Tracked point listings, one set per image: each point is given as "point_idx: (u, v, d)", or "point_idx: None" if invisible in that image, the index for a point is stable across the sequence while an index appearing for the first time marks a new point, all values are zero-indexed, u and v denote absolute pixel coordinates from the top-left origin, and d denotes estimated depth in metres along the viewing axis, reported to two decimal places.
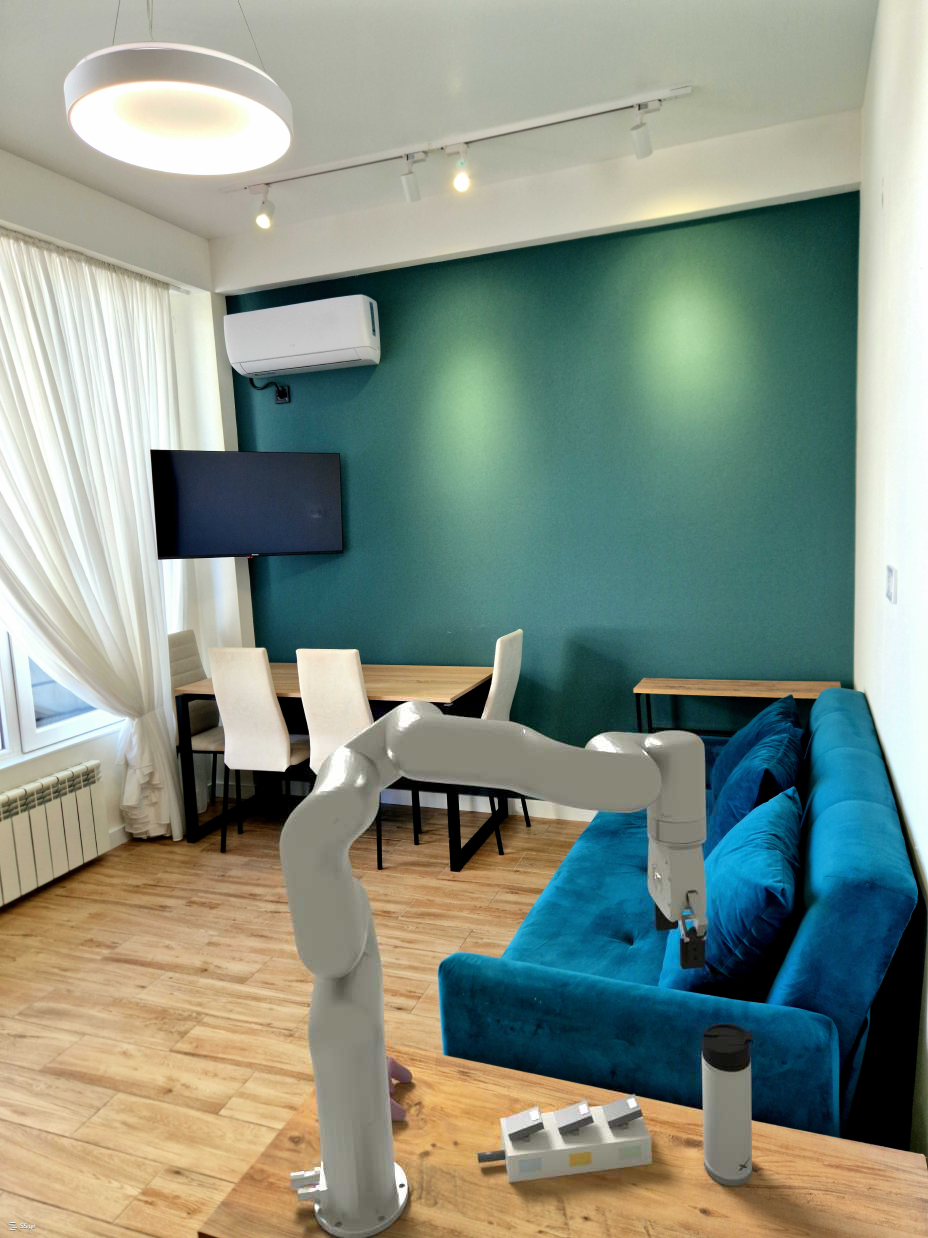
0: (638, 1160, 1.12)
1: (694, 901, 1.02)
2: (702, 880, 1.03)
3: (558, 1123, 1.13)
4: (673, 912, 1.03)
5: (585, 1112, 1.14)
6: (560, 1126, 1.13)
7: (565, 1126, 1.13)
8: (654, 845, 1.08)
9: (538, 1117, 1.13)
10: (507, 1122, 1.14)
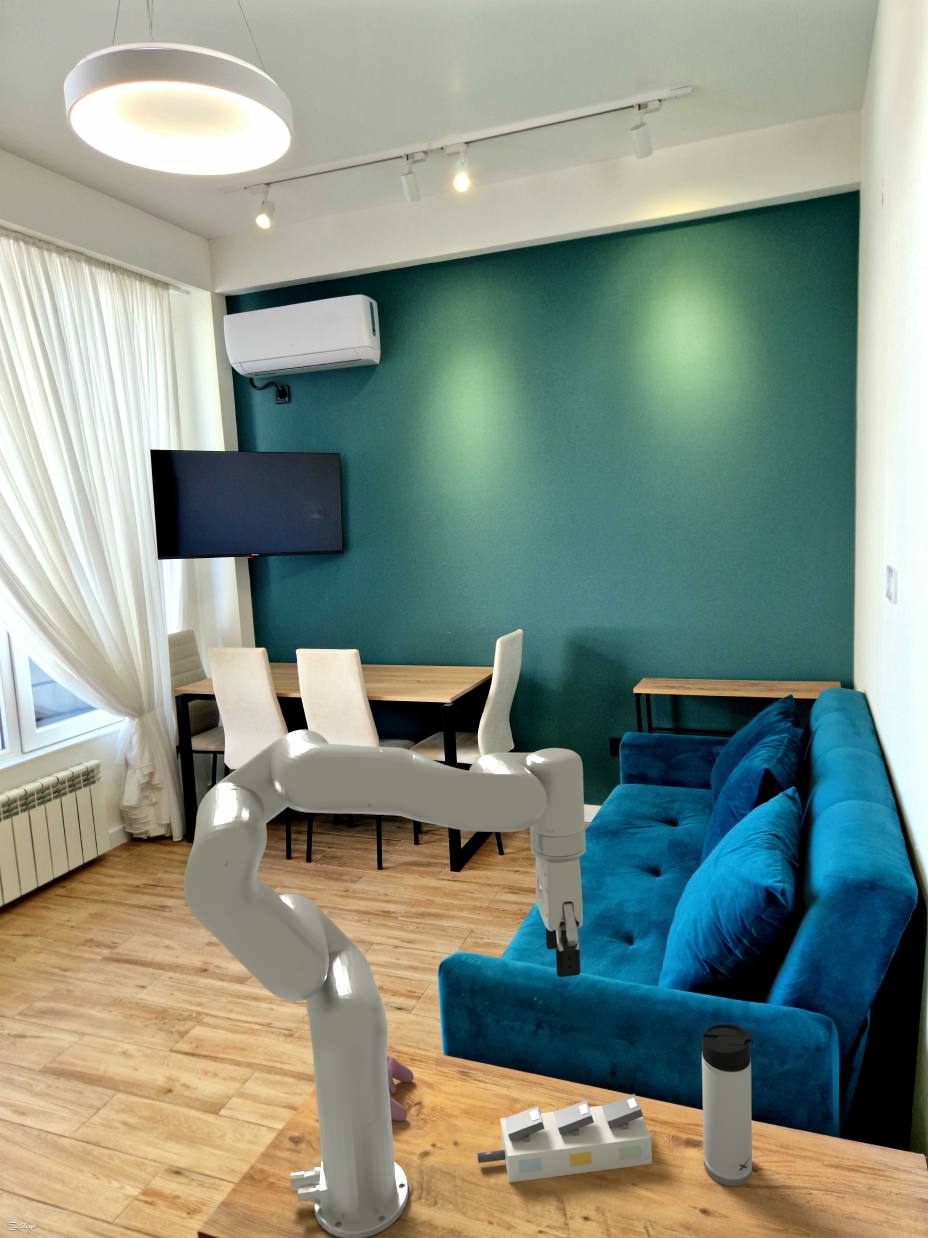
0: (638, 1160, 1.12)
1: (569, 915, 1.07)
2: (578, 892, 1.08)
3: (558, 1123, 1.13)
4: (550, 922, 1.08)
5: (585, 1112, 1.14)
6: (560, 1126, 1.13)
7: (565, 1126, 1.13)
8: (537, 857, 1.13)
9: (538, 1117, 1.13)
10: (507, 1122, 1.14)
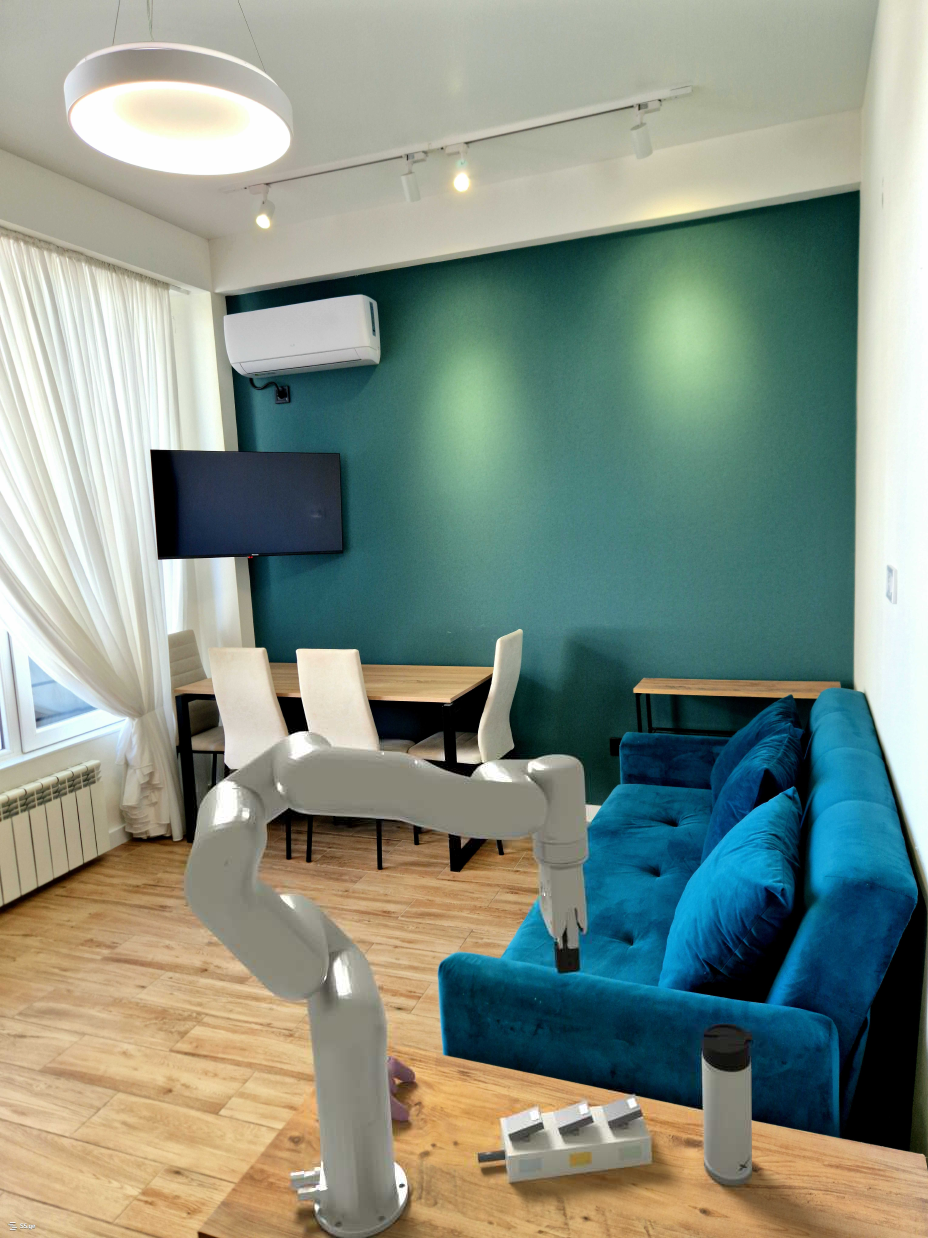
0: (638, 1160, 1.12)
1: (572, 925, 1.08)
2: (582, 898, 1.08)
3: (558, 1123, 1.13)
4: (555, 929, 1.08)
5: (585, 1112, 1.14)
6: (560, 1126, 1.13)
7: (565, 1126, 1.13)
8: (540, 864, 1.13)
9: (538, 1117, 1.13)
10: (507, 1122, 1.14)
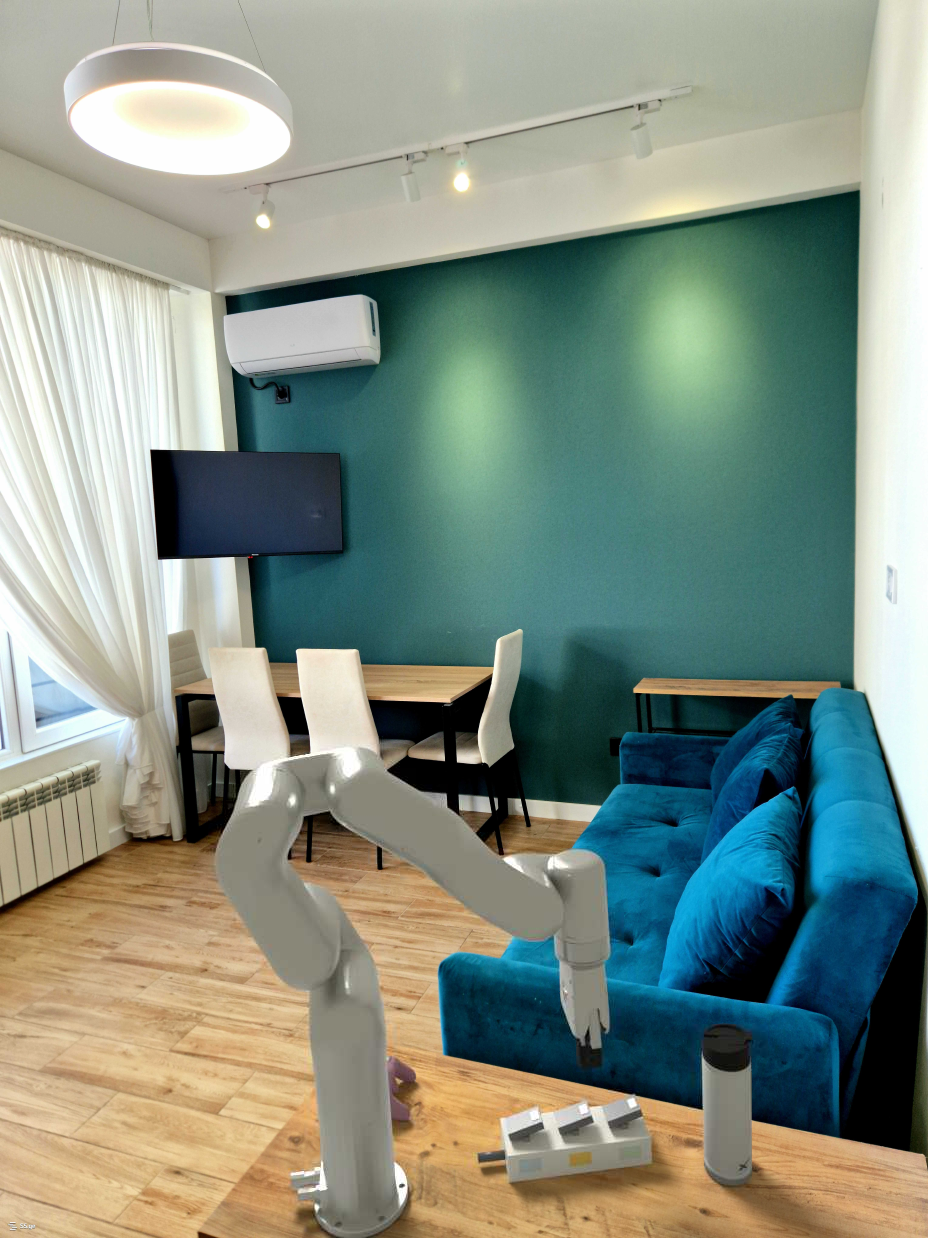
0: (638, 1160, 1.12)
1: (594, 1025, 1.08)
2: (604, 998, 1.07)
3: (558, 1123, 1.13)
4: (577, 1030, 1.07)
5: (585, 1112, 1.14)
6: (560, 1126, 1.13)
7: (565, 1126, 1.13)
8: None
9: (538, 1117, 1.13)
10: (507, 1122, 1.14)
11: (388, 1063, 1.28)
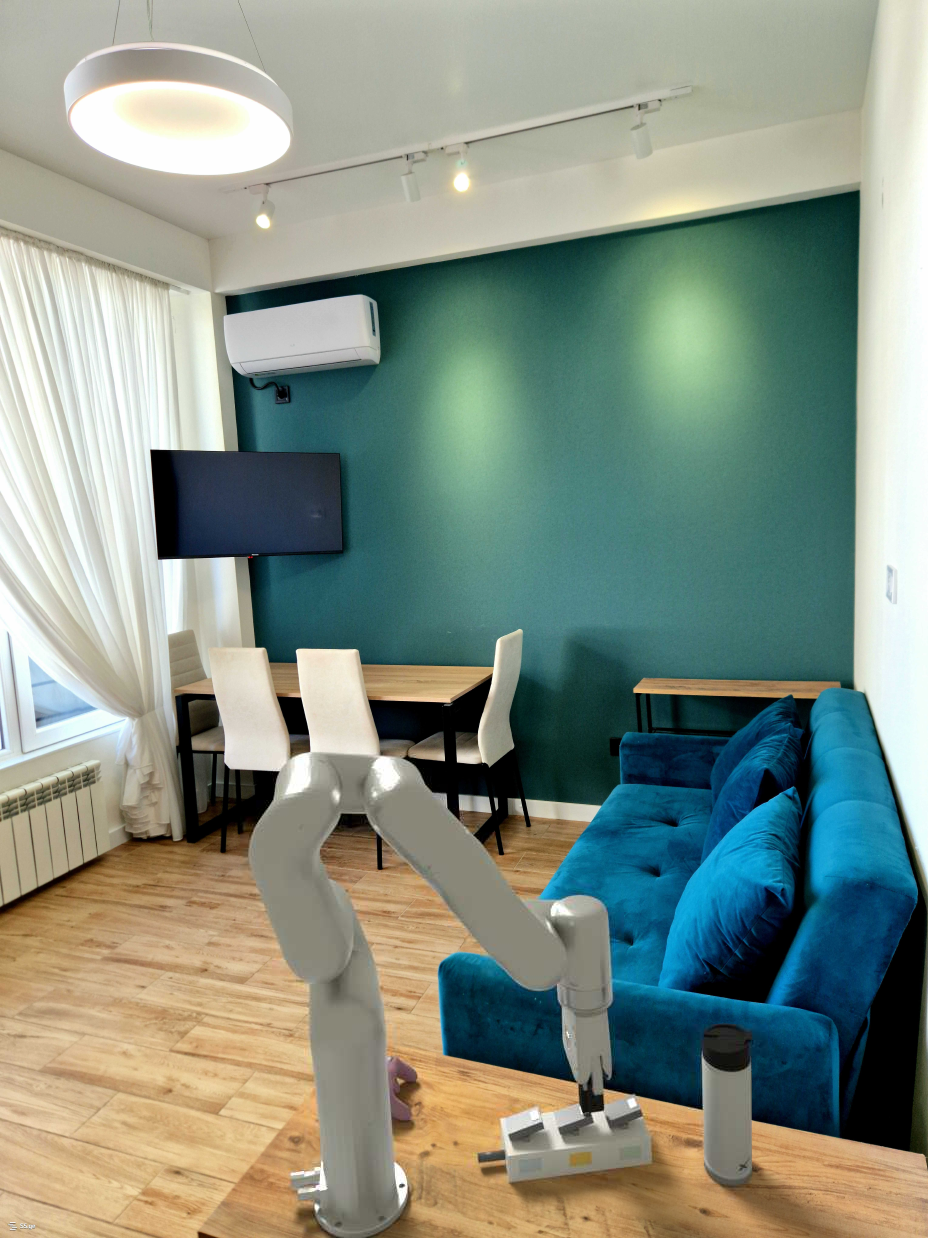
0: (638, 1160, 1.12)
1: (596, 1072, 1.08)
2: (607, 1045, 1.08)
3: (558, 1123, 1.13)
4: (579, 1076, 1.08)
5: None
6: (560, 1126, 1.13)
7: (565, 1125, 1.13)
8: None
9: (538, 1117, 1.13)
10: (507, 1122, 1.14)
11: (390, 1063, 1.28)
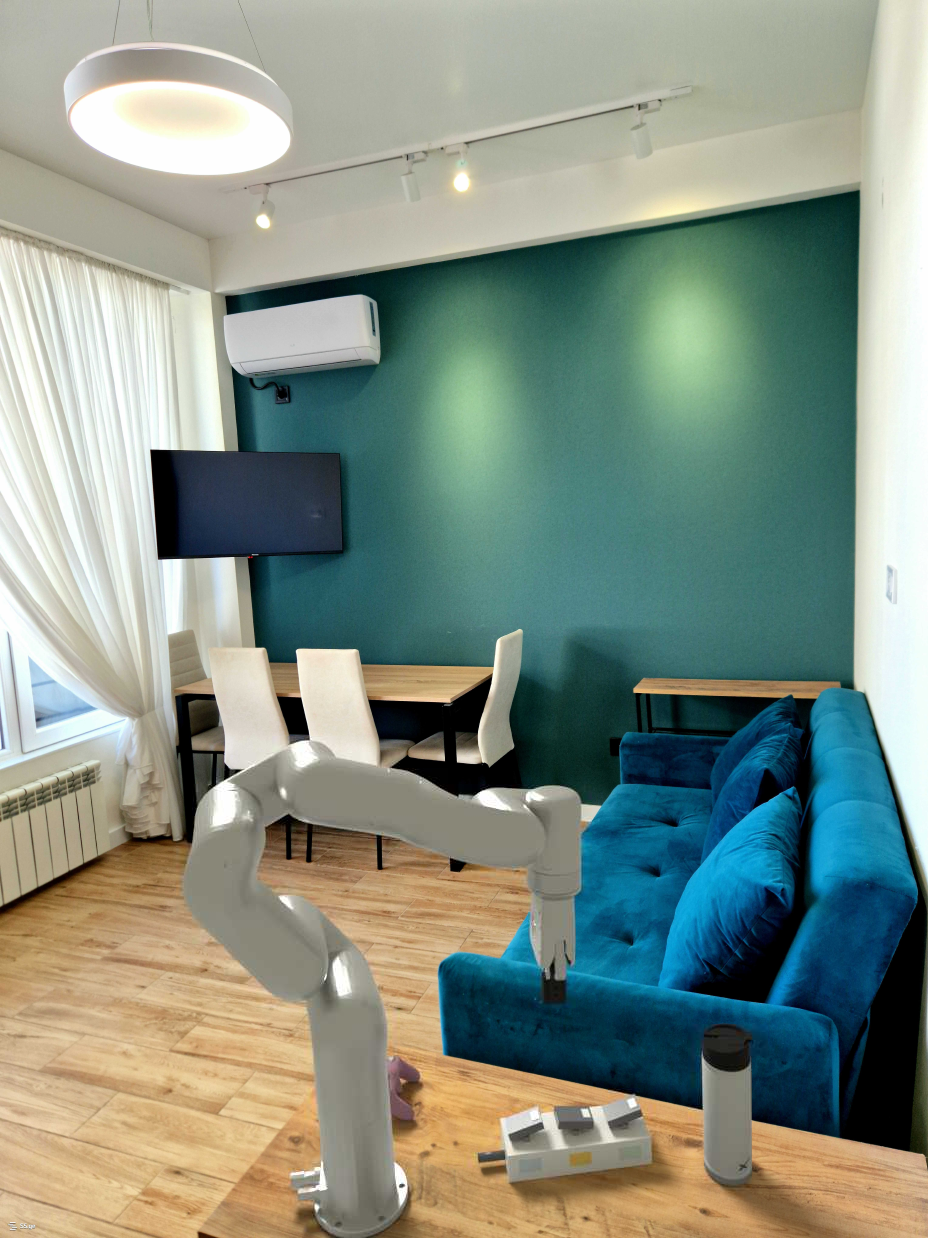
0: (638, 1160, 1.12)
1: (560, 957, 1.09)
2: (571, 931, 1.09)
3: (559, 1117, 1.13)
4: (542, 960, 1.09)
5: (587, 1116, 1.14)
6: (561, 1120, 1.13)
7: (566, 1122, 1.12)
8: (533, 893, 1.14)
9: (538, 1117, 1.13)
10: (507, 1122, 1.14)
11: (392, 1063, 1.28)
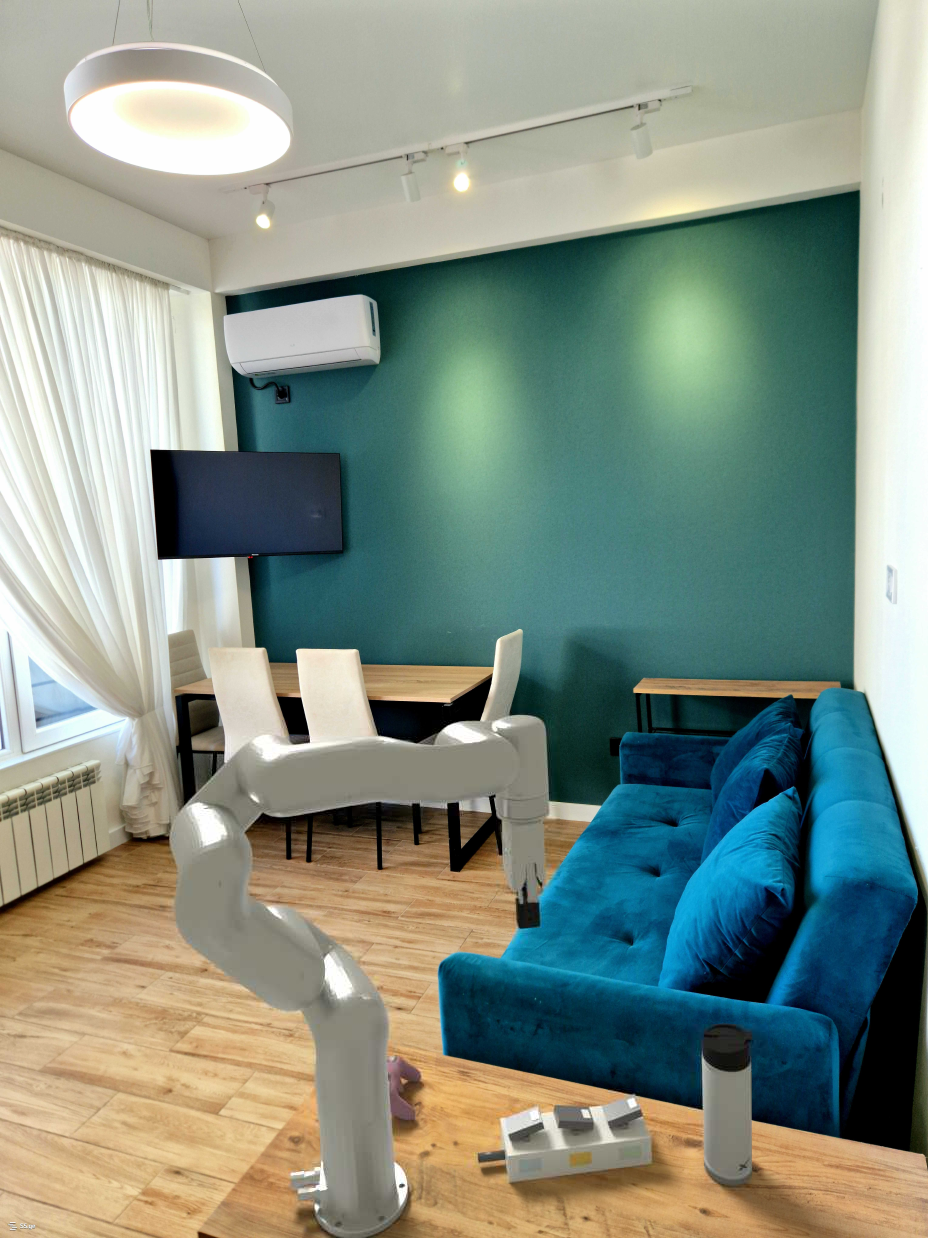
0: (638, 1160, 1.12)
1: (531, 879, 1.12)
2: (541, 853, 1.11)
3: (559, 1116, 1.13)
4: (514, 883, 1.11)
5: (588, 1117, 1.14)
6: (562, 1120, 1.13)
7: (566, 1121, 1.12)
8: (503, 821, 1.16)
9: (538, 1117, 1.13)
10: (507, 1122, 1.14)
11: (393, 1063, 1.28)
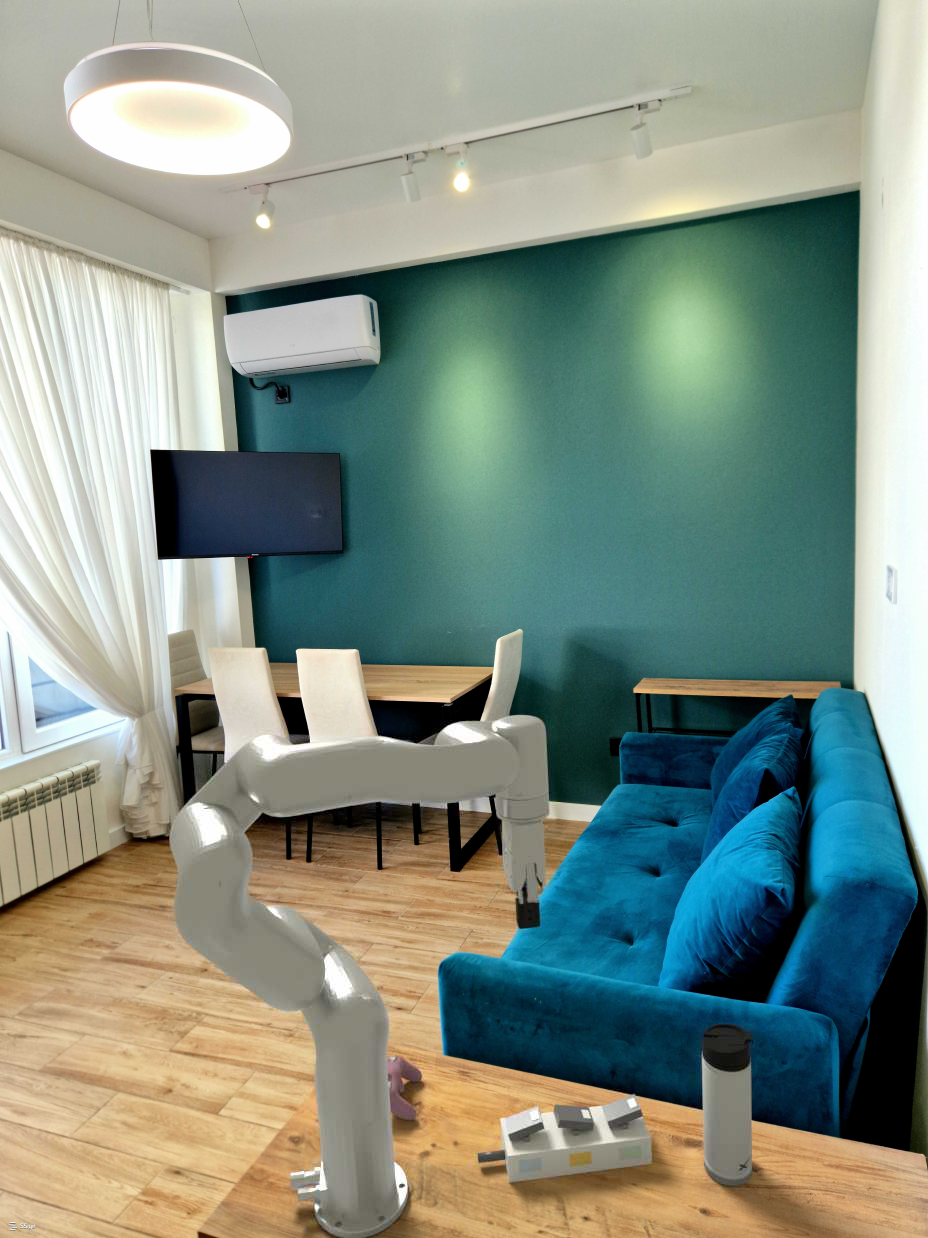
0: (638, 1160, 1.12)
1: (531, 879, 1.12)
2: (541, 853, 1.11)
3: (559, 1116, 1.13)
4: (514, 883, 1.11)
5: (588, 1117, 1.14)
6: (562, 1119, 1.13)
7: (566, 1121, 1.12)
8: (503, 821, 1.16)
9: (538, 1117, 1.13)
10: (507, 1122, 1.14)
11: (394, 1063, 1.28)
